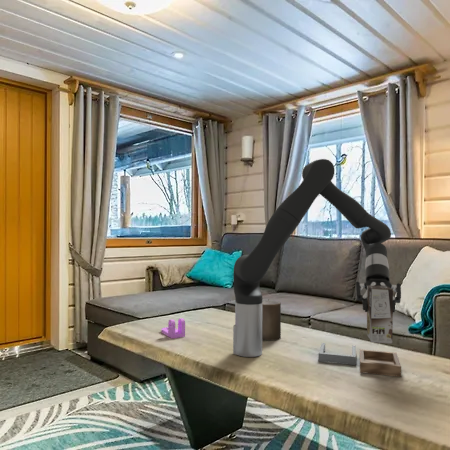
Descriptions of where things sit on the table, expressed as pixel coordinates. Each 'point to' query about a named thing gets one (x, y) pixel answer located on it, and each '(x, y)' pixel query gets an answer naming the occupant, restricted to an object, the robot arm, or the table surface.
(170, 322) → the bracket
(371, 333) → the coffee box
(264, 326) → the pillar candle
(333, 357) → the bay
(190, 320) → the table surface
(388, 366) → the tray
